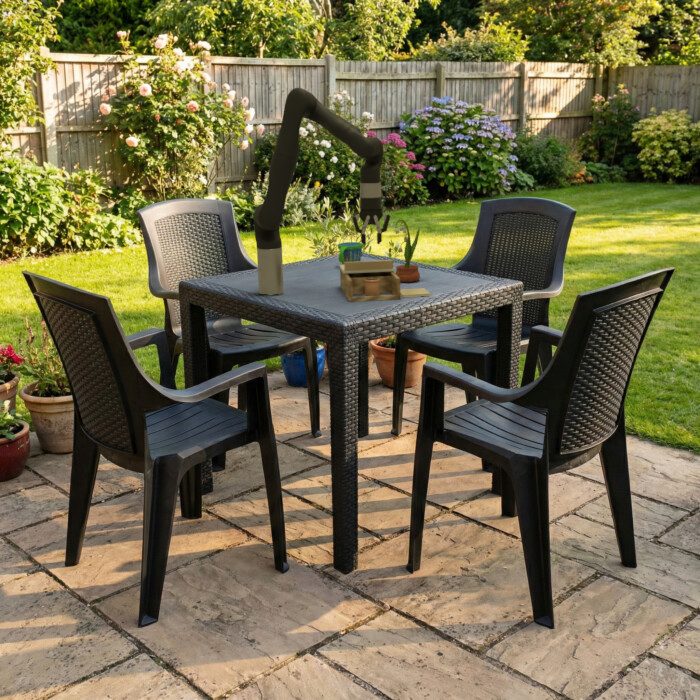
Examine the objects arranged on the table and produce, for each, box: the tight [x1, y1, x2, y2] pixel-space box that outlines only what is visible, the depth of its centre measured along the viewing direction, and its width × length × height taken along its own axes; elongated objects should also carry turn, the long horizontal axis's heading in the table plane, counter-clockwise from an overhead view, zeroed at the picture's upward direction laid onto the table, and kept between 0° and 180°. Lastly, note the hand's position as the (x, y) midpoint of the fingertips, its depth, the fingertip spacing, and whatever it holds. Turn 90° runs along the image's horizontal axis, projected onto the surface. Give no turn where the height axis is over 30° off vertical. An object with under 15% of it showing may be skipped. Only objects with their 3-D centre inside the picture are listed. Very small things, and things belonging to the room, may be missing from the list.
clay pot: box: [364, 277, 380, 296], centre depth 317 cm, size 6×6×7 cm
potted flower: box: [390, 217, 421, 283], centre depth 342 cm, size 12×10×25 cm
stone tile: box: [400, 287, 431, 298], centre depth 321 cm, size 10×10×1 cm
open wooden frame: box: [339, 268, 401, 303], centre depth 324 cm, size 18×28×8 cm, turn 7°
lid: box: [338, 259, 396, 274], centre depth 328 cm, size 19×13×4 cm
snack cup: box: [337, 241, 364, 265], centre depth 377 cm, size 16×10×10 cm
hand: (371, 243), depth 313 cm, fingers open, 4 cm apart
